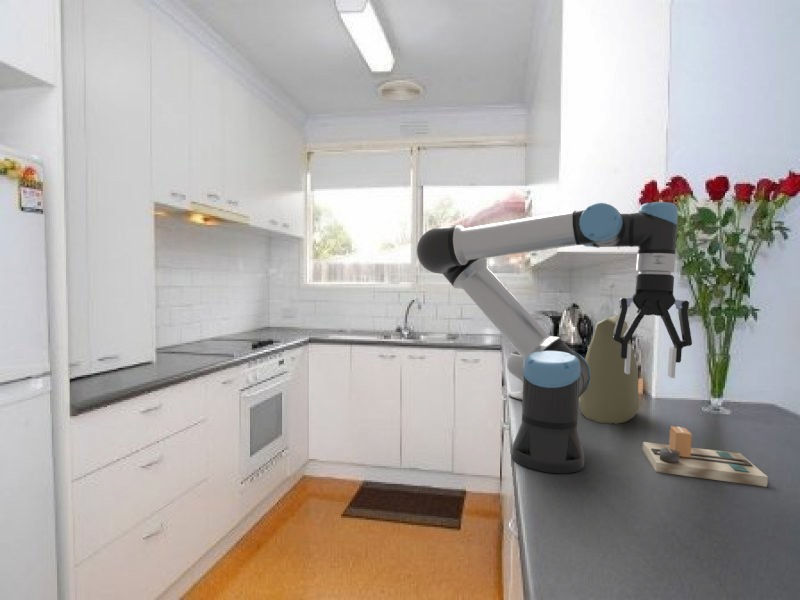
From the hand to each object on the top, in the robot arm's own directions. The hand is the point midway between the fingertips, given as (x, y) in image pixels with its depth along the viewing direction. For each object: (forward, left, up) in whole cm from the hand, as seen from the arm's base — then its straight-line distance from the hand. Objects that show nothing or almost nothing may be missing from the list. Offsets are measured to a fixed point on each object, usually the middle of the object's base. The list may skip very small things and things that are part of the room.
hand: (648, 374), depth 108 cm
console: (+11, 0, -19) cm, 22 cm away
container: (-3, +39, -20) cm, 44 cm away
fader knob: (+7, 0, -17) cm, 18 cm away
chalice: (-27, +50, -20) cm, 60 cm away
